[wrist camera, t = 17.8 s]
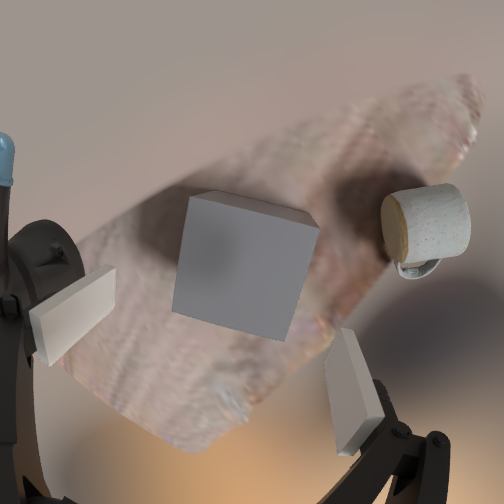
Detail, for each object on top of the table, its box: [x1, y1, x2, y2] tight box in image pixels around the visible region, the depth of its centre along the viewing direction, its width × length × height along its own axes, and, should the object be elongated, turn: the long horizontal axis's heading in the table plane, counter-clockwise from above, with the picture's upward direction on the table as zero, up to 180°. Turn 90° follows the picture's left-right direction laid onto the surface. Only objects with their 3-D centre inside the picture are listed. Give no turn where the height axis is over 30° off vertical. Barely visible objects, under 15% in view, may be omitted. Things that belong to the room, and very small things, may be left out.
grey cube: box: [172, 190, 320, 342], centre depth 27 cm, size 10×10×9 cm
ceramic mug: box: [381, 183, 471, 279], centre depth 25 cm, size 11×8×8 cm
